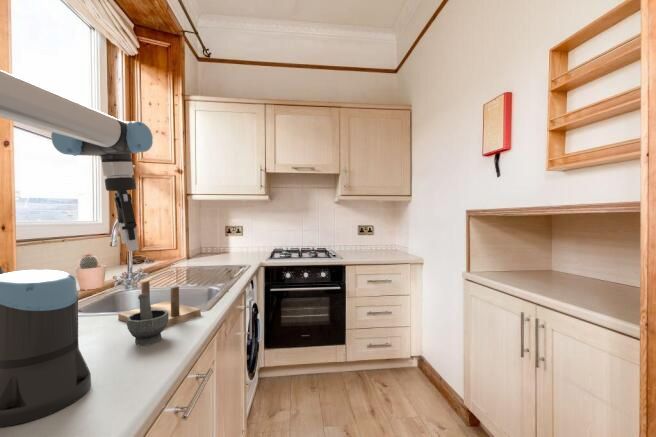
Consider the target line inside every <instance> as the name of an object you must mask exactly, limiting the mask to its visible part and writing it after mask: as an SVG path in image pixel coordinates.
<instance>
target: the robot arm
mask: <svg viewBox="0 0 656 437" xmlns="http://www.w3.org/2000/svg"><path fill="white" fill-rule="evenodd" d="M0 118H2V119H6V120H9V121H13V122H14V123H15V122H16V123H19V124H22V125H26V126H30V127H33V128H37V129H40V130H43V131H47V132H51V142H52V145H53V147H54V149H55V150H56V151H58V152H59V153H61V154H63V155H69V156H70V155H71V156H75V157H77V156H88V157H89V156H93V157H97V156H99V157H100V159H101V167H102V174H103V176H104V177H105V178H104V184H105V185H104V186H105V190H106V191H107V192H115V193H114V197H113V200H114V203H115V207H116V213H117V220H118V221H117V222H118V225H119V226H118V227H119V231H120V239H121V240H120V241H121V244H122V245H123V244H126V248H127V249H126V250H127V252H134V251H139V250H140V247H139V242H138V235H137V222H136V218H135V213H134V209H133V200H132V199H133V198H132V196H131V195H132V194H130V193H129V192H128V191H133V190H136V189H137V185H136V184H137V183H136V178H135V177H134V175H135V173H134V169H136V165H134V164H133V158H132V154H139V153H145V152H148V151H149V150H150V149H151V148H152V146H153V143H154V142H153V137H154V136H153V133H152V131H151V128H149V126H148V125H146V123H144V122H142V121H134V120H130V121H124V120H121V119H119V118H116V117H115V116H111V115H109V114H107V113H104V112H102V111H100V110H97V109H95V108H92V107H89V106H87V105H85V104H82V103H80V102H78V101H75V100H74V99H70V98H69V97H65V96H63V95H61V94H58V93H56V92H54V91H51V90H50V89H47V88H44V87H42V86H39V85H37V84H36V83H32V82H31V81H27V80H25V79H24V78H20V77H18V76H15V75H13V74H10V73H8V72H6V71H4V70H1V69H0ZM79 346H80V345H79V291H78V288H77V280H76V278H75V277H74V275H72V274H70V273H69V272H67V271H63V270H55V269H54V270H53V269H26V270H15V271H10V272H5V271H4V269H3V267H2V266H1V265H0V427H8V426H9V427H10V426H14V425H19V424H23V423H27V422H30V421H31V422H32V421H33V420H37V419H41V418H43V417H45V416H49V415H51V414H53V413H56V412H58V411H60V410H62V409H64V408H66V407H67V406H70V405H72V404H73V403H75V402H76V401H78V400H80V399H81V398H83V396H84V395H85V394H86V393H88V391H89V390H90V389H91V386H92V376H91V375H92V374H91V370H90V369H89V367H88V364H87V363H86V361H85V358H84V356H83V354H82V352H81V350H80V347H79Z"/></svg>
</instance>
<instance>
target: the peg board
mask: <svg viewBox="0 0 656 437" xmlns="http://www.w3.org/2000/svg"><path fill="white" fill-rule="evenodd" d="M140 282H141V294H144V293H148V294H149V295H150V294H151V293H150V292H151V291H150V280H143V281H140ZM169 291H170V301H169V300H166V301H162V302H158V303H154V304H150V306H151V310H166V311H167V312H168V315H169V318H168V324H167V325H166V327H165V328H167V327H169V326H173V325H176V324H179V323H181V322H184V321H188V320H191V319H194V318H196V317H199V316H201V313H202V311H201V309H200V308H197V307H194V306H193V307H192V306H189V305H185V304H180V287H179V286H178V285H177V286H175V285H174V286H171V287H170V289H169ZM149 301H150V302H151V295H150V296H149ZM139 312H140V307H138V308H135V309H130V310H127V311H123V312H119V313H117V314H118V315H117V317H118V321H121V322H124V323H127V321H126V318H127V317H129V316H131V315H132V314H135V313H139Z"/></svg>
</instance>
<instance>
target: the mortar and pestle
mask: <svg viewBox="0 0 656 437" xmlns="http://www.w3.org/2000/svg"><path fill="white" fill-rule="evenodd" d="M149 296H150V297H151V295H149V294H148V293H144V294H142V293H141V294H139V295H137V297H138V298H137V299H138V300H139V308H140V312H139V313H135V314H132V315H131V316H129V317H127V318H126V321H127V322H126V326H127V330H128V331H129V333H130V334H131V336H132V337H133V338H135V339H134V343H135V345H136V346H148V345H149V346H150V345H153V344H156V343H158V342H160V340H162V334H161V333H163V331H164V330H165V329H166V328H167V327H166V325H167V324H168V318H169V315H168V312H167V311H166V310H151V306H150V305H151V300H150V301H149Z"/></svg>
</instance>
